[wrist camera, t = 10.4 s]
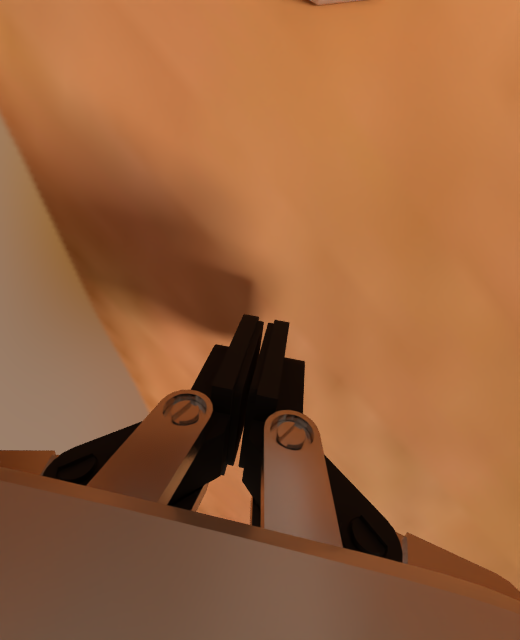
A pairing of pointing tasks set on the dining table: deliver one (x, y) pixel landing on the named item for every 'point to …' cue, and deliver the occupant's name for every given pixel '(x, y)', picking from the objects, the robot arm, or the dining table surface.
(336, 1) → the white cup
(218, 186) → the dining table surface
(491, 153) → the dining table surface
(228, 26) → the dining table surface
